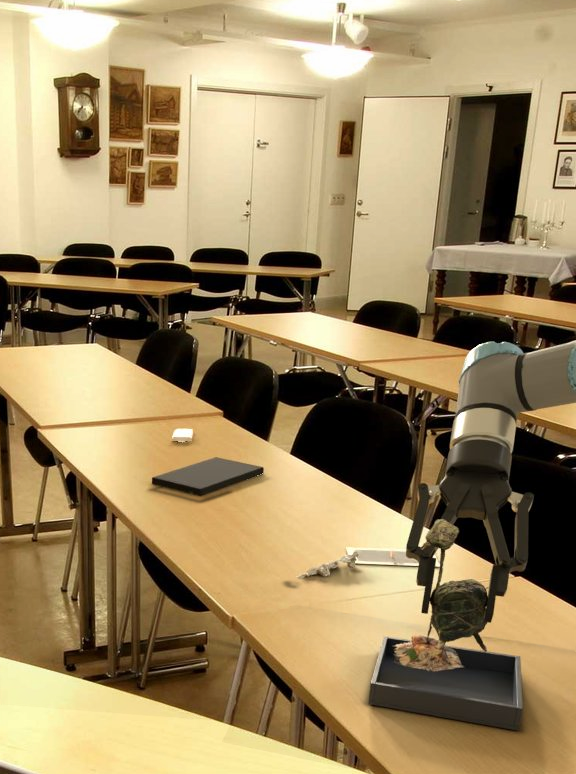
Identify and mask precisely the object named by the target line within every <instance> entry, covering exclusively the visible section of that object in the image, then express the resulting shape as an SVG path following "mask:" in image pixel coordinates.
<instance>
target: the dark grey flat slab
mask: <svg viewBox="0 0 576 774" xmlns="http://www.w3.org/2000/svg"><path fill="white" fill-rule="evenodd" d="M264 469H265V468H264V466H260V465H256V464H250V463H246V462H241V461H236V460H232V459H227V458H222V457H217V456H215V457H211V458H210V459H205V460H202V461H200V462H196V463H193V464H190V465H188V466H183V467H180V468H178V469H177V468H176V469H174V470H171V471H168V472H165V473H162V474H159V475H155V476H152V477H151V485H155V486H158V487H163V488H167V489H170V490H174V491H178V492H182V493H185V494H191V495H195V496H198V497H202V496H206V495H209V494H211V493H214V492H217V491H221V490H222V489H225V488H228V487H231V486H234V485H236V484H240V483H242V482H244V481H245V482H246V481H248V480H250V478H251V479H253V478H252V477H254V478H256V477H258V476H257V475H259V476H261V475H260V474H262V473H263V474H264ZM263 474H262V475H263ZM255 476H256V477H255ZM247 479H248V480H247Z"/></svg>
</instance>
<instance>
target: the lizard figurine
mask: <svg viewBox="0 0 576 774" xmlns="http://www.w3.org/2000/svg"><path fill="white" fill-rule="evenodd" d="M358 555H359V554H357V552H355V551H354V552H353V554H352V555H348V554H344V555H342V556H341V557H340V558H339V559H335V560H332V561H329V562H326V563H322V564H321V565H319V566H317V567H316V566H312V567H310V568H309V569H308V570H307V571H306V573H302V574H298V575H296V576H295V577H296V578H297V579H304V578H306V577H311V576H313V575H317V574H319V575H320V576H322V577H328V576H330V575H331V573H330V570H331V569H336V568H337V567H338V566H339V565H340V564H341V563H342V564H346V565H347V566H349V567H350V568H353V569H355V568H357V565H356V563H355V561H357V559H356V557H357V558H358Z"/></svg>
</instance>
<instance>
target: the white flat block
mask: <svg viewBox="0 0 576 774" xmlns="http://www.w3.org/2000/svg"><path fill="white" fill-rule="evenodd" d="M192 436H193V437H194V431H193V428H176V429H174V431H173V434H172V437H171V442H172V441H178V442H182V443H181V444H184V443H183V442H185V441H191V442H192V440H193V437H192ZM191 439H192V440H191ZM185 443H186V442H185Z"/></svg>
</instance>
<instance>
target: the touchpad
mask: <svg viewBox="0 0 576 774" xmlns="http://www.w3.org/2000/svg"><path fill="white" fill-rule="evenodd" d="M345 549H346V553H347V555H352V554H353V552H354V551H355V552H357V554H359V555H358V558H357V557H356V559H357V561H355V564H363V565H386V566H387V565H388V566H389V565H390V566H410V567H411V566H412V567H413V566H415V567H418V566H419V562H418V561H417V560H415V559H413V558H412V559H410V558H408V557H406V549H403V548H402V549H400V548H378V547H377V548H374V547H373V548H371V547H349V546H348V547H345ZM433 558H436V565H435V568H436V567H437V568H440V561H439V560H438V558H437V556H436V554H435V555H434V556H433Z"/></svg>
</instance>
